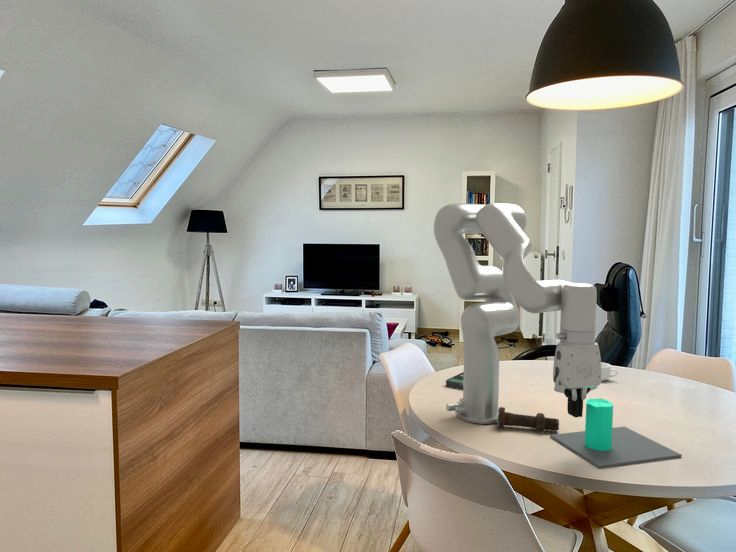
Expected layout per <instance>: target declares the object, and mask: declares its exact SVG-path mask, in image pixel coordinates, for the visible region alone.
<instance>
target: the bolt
mask: <svg viewBox="0 0 736 552" xmlns="http://www.w3.org/2000/svg"><path fill="white" fill-rule="evenodd" d="M498 409H499V414H498V422H497V428H498V429H499V428H501V429H500V430H505V426H507V427H519V428H521V427H522V428H529V429H535V432H537V433H542V432H543V433H544V432H545V431H552V432H555V431H556V432H557V431H559V429H560V427H559V426H560V420H559V419H558V418H554V417H553V418H552V417H545V414H544V413H541V412H540V413H539V412H537V413H536V415H531V414H530V415H529V414H520V413H512V412H508V411H506V408H505V407H504V406H501V407H498Z"/></svg>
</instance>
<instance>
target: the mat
mask: <svg viewBox="0 0 736 552" xmlns="http://www.w3.org/2000/svg"><path fill="white" fill-rule="evenodd" d="M549 436H550V438H551V439H553V440H554V441H556V442H557V443H558V444H560V445H562V446H564V447H565V448H566V449H568V450H570V451H571V452H573V453H574V454H576V455H577V456H579V457H581V458H582V459H584V460H586V461H587V462H588V463H590V464H592V465H594V466H595V467H596V468H597V469H604V468H605V469H606V468H612V467H618V466H626V465H632V464H641V463H649V462H656V461H663V460H670V459H678V458H682V456H683V455H682V454H681V453H679V452H677V451H676V450H673V449H671V448H669V447H667V446H664V445H663V444H661V443H659V442H657V441H655V440H653V439H650V438H649V437H646V436H645V435H642V434H641V433H638V432H636V431H634V430H632V429H630V428H628V427H625V426H617V427H612V447H611V449H610V450H608V451H599V450H594V449H591V448H588V447H587V446H585V430H583V431H582V430H580V431H574V432H565V433H556V434H555V433H554V434H550V435H549Z"/></svg>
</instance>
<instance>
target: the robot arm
mask: <svg viewBox="0 0 736 552" xmlns="http://www.w3.org/2000/svg"><path fill="white" fill-rule="evenodd" d="M526 225H527V214H526V213H525V212H524V210H523V208H521V207H520V206H519V205H517V204H513V203H496V202H495V203H488V204H484V203H483V204H481V203H478V204H477V203H459V202H458V203H449V204H446V205H445V206H443V207H441V208H439V209H438V211H437V213H436V215H435V218H434V221H433V234H434V237H435V241H436V243H437V246H438V248H439V250H440V252H441V254H442V256H443V258H444V261H445V265H446V267H447V269H448V273H449V275H450V280H451V282H452V285H453V287H454V290H455V293H456V294H457V295H456V296H457V297H459V299H461V300H462V301H463V300H464V301H478V300H479V301H480V300H483V301H484V302H476V303H473V304H471V305H468V306H467V307H466V308H465V309H464V310H463V312H462V313H461V317H460V328H461V332H462V341H463V372H464V380H463V390H462V393H463V394H462V396H463V397H462V398H459V401H457V402H456V403H447V404H446V411H447V412H453V411H454V413H455V414H456V415H457V416H458V418H459V419H461V420H463V421H465V422H467V423H468V422H469V423H472V424H478V425H479V424H481V425H493V424H496V423H497V424H498V414H499V390H500V389H499V387H500V385H499V384H500V380H499V379H500V352H499V351H500V350H499V346H498V344H497V341H496V339H495V337H497V336H504V335H508V334H511V333H513V332H515V331H516V330H517V329H518V327H519V325H520V319H521V318H520V317H521V316H520V311H519V308H518V305H519V306H520V308H522V309H523V310H524V311H526V312H528V313H531V314H541V313H547V312H549V313H550V312H558V311H559V312H560V321H559V322H560V327H559V332H557V333H556V335H555V336H556V337H555V338H556V339H557V340H559V341H558V342H557V345H556V347H555V354H554V358H553V359H554V360H553V367H552V368H553V371H552V381H553V383H554V386H553V387H554V388H553V389H554V391H555V392H557V393H560V394H564V396H565V397H566V398H567V405H566V406H567V415H568V414H569V415H570V416H572V417H573V418H575V419H576V418H583V412H584V411H583V410H584V401H585V400H587V395H588V394H589V393H590V392H592V391H594V390H596V389H597V388H598V386H600V385H601V382H602V381H601V362H602V359H601V352H600V347H599V344H598V342H596V327H597V325H596V324H597V296H598V294H597V286H595V285H593V284H592V283H586V282H585V283H584V282H570V281H567V280H563V279H547V280H545V279H544V280H536V279H535V277H534V276H533V275H532V273H530V271H529V269H528V268H527V266H526V265H525V262H524V259H525V258H526V257H527V256H528V255H529V253H530V252H531V250H532V248H533V243H532V241H531V239H530V238H529V237H528V236H527V234H526V233H525V232H524V230H525V229H526ZM464 234H465V235H467V234H468V235H470V234H471V235H472V234H473V235H475V234H477V235H481V234H482V235H483V237H484V238H485V239H486V240H487V242H488V243H489V244H490V246H491V247H492V248H493V250H494V251H495V252H496V254H497V255H498V257H499V258H500V260H501V261H502V265H501V266H502V268H501V269H500V268H498V267H497V266H495V265H481V264H480V263H479V261H478V259H477V255H476V253H475V250H474V248H473V246H472V245H471V244H470V243H469V241H468V240H466V238H464V236H463V235H464ZM517 304H518V305H517Z"/></svg>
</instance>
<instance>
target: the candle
mask: <svg viewBox="0 0 736 552" xmlns="http://www.w3.org/2000/svg"><path fill="white" fill-rule="evenodd" d="M585 406H586V407H585V425H584V426H585V427H584V429H585V430H584V431H585V446H587V447H588V448H591V449H594V450H599V451H608V450H610V449H611V447H612V428H613V421H614V403H612V402H611V401H609V400H607V399H605V398H588V399H586V402H585Z"/></svg>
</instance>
